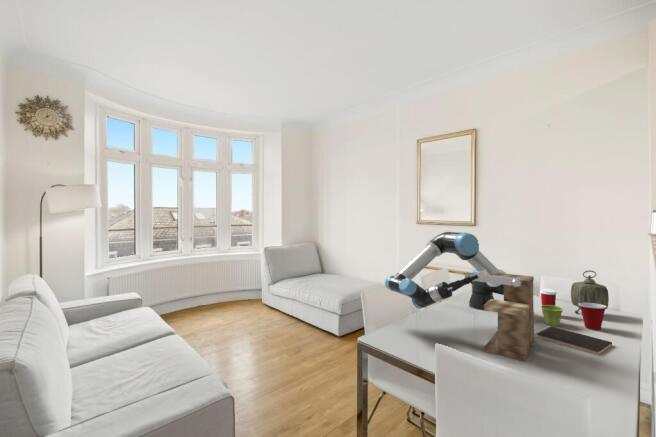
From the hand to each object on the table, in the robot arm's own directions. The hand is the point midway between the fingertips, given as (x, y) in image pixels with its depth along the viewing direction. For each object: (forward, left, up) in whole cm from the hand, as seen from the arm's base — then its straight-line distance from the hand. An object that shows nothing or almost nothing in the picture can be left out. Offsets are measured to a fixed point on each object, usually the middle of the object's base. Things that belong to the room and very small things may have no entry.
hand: (486, 272), depth 137 cm
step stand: (+6, +8, -33) cm, 35 cm away
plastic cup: (+20, +60, -33) cm, 72 cm away
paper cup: (-1, +65, -33) cm, 73 cm away
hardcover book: (+20, +35, -34) cm, 53 cm away
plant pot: (+6, +51, -33) cm, 61 cm away
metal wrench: (+2, +1, -4) cm, 5 cm away
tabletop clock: (+13, +82, -33) cm, 90 cm away
